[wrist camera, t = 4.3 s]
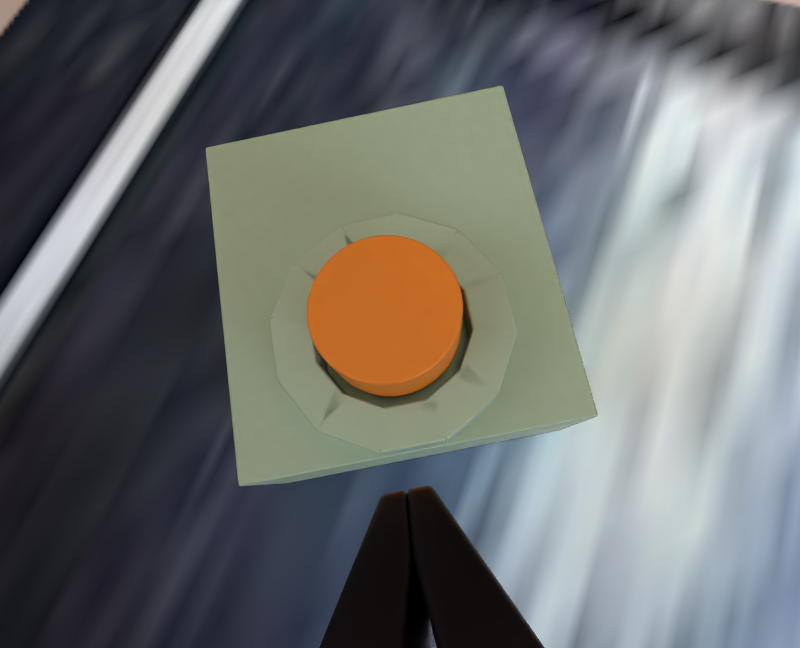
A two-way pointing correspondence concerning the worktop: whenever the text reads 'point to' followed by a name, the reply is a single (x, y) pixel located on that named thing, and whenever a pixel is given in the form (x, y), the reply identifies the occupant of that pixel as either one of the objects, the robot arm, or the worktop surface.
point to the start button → (386, 314)
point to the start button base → (400, 216)
